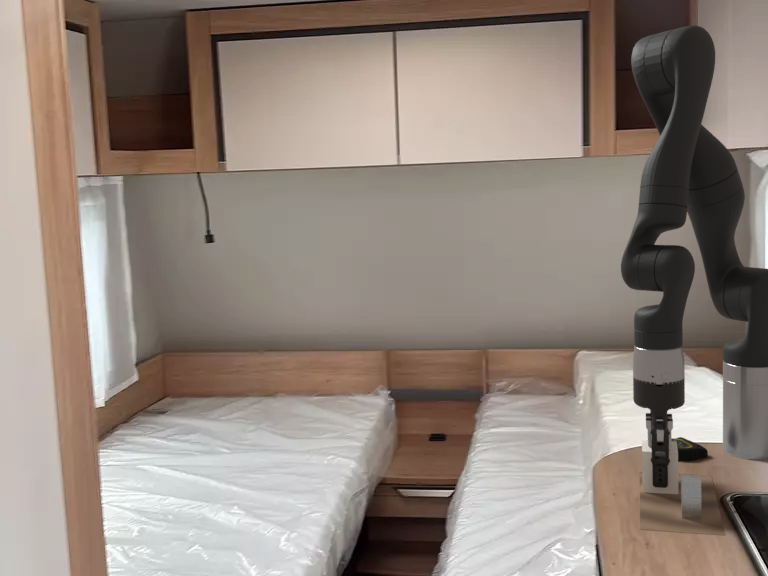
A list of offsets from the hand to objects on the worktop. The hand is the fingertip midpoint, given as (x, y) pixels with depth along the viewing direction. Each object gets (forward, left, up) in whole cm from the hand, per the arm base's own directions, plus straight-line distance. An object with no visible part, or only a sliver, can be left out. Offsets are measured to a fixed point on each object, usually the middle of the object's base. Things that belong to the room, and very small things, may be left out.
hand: (659, 479), depth 130 cm
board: (+3, +5, -3) cm, 6 cm away
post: (+6, +9, -1) cm, 11 cm away
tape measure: (-16, -6, -3) cm, 17 cm away
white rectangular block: (0, 0, -1) cm, 1 cm away
